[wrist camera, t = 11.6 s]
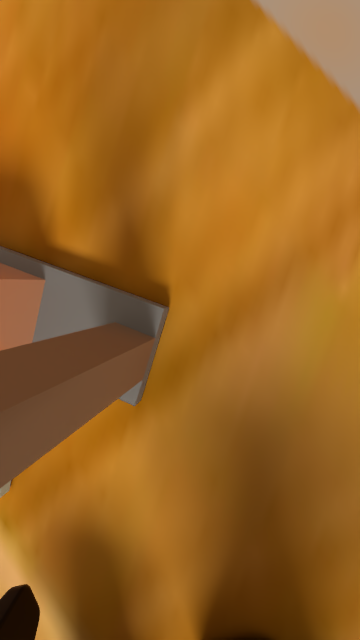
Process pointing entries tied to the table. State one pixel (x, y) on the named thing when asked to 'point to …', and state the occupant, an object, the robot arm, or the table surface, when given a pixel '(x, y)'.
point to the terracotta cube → (18, 306)
